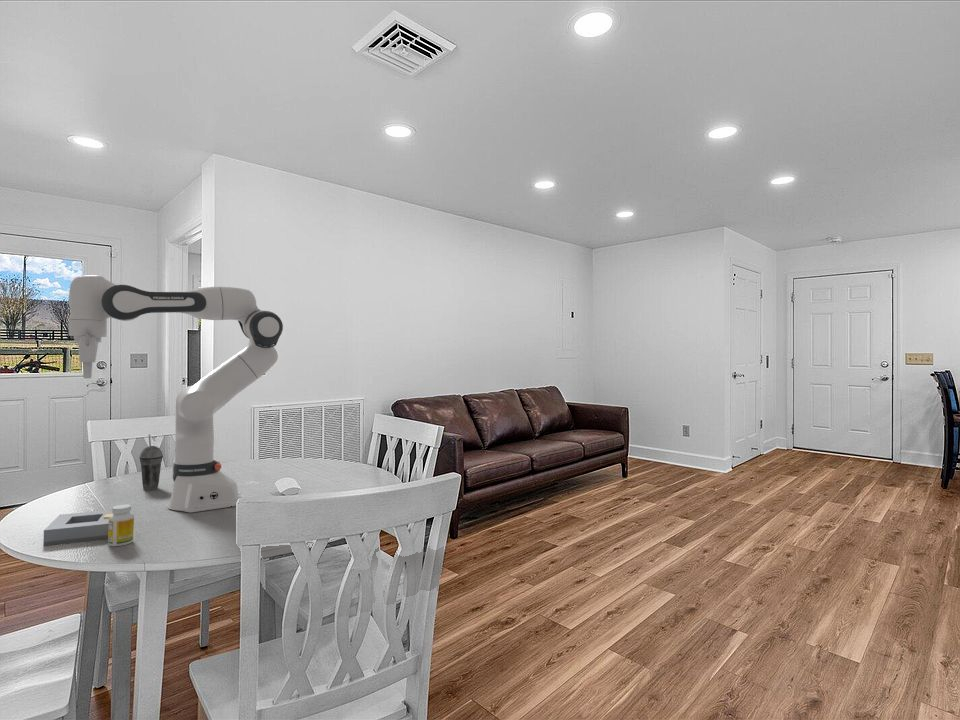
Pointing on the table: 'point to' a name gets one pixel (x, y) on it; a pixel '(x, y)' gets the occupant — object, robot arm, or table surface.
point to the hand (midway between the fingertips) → (87, 377)
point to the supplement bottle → (120, 526)
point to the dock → (78, 527)
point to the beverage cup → (150, 466)
